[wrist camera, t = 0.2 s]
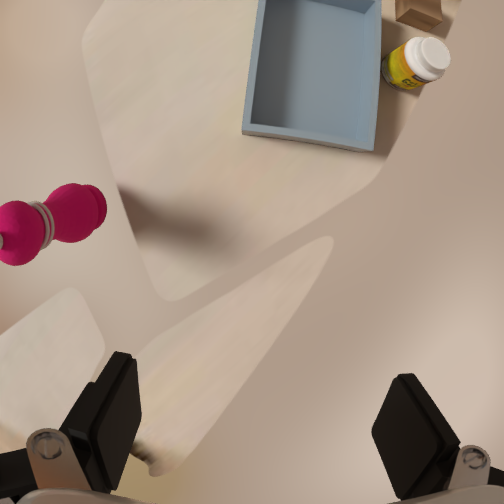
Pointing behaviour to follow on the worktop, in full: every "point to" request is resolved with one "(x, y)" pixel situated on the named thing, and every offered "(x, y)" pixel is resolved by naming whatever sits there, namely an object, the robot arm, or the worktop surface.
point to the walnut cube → (419, 13)
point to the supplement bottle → (416, 63)
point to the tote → (315, 72)
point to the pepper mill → (49, 221)
